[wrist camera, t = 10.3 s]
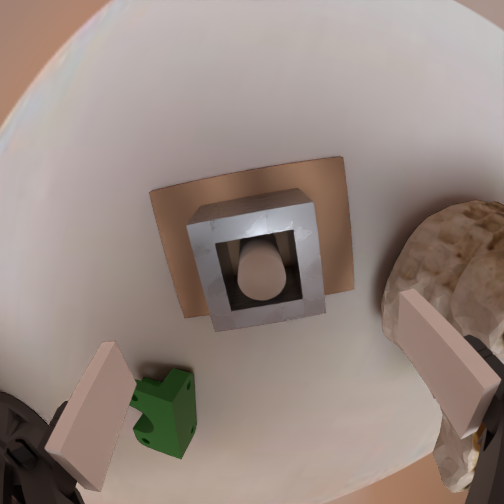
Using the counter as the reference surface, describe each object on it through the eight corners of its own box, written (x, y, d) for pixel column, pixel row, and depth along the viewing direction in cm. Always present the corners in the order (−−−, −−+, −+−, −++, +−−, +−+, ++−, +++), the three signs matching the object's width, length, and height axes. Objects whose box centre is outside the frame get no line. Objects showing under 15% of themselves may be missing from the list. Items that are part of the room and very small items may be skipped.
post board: (186, 312, 29) (169, 366, 22) (152, 190, 25) (115, 211, 18) (351, 284, 28) (381, 331, 21) (339, 156, 24) (377, 163, 17)
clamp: (160, 350, 36) (120, 368, 27) (204, 362, 35) (173, 386, 26) (154, 428, 36) (119, 458, 27) (194, 442, 34) (166, 477, 26)
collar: (221, 293, 27) (215, 331, 22) (200, 205, 25) (186, 225, 19) (310, 277, 27) (325, 312, 21) (298, 187, 24) (313, 202, 19)
